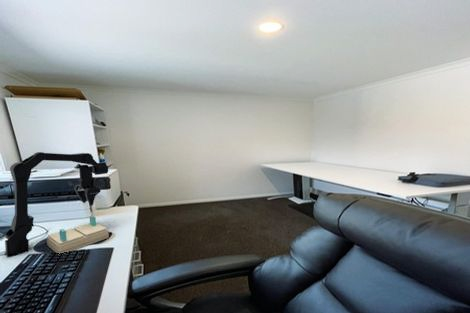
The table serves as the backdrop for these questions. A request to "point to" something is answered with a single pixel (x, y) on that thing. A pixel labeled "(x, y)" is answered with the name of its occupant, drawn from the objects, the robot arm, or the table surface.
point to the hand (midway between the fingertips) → (87, 204)
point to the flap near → (65, 236)
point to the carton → (77, 242)
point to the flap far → (90, 227)
